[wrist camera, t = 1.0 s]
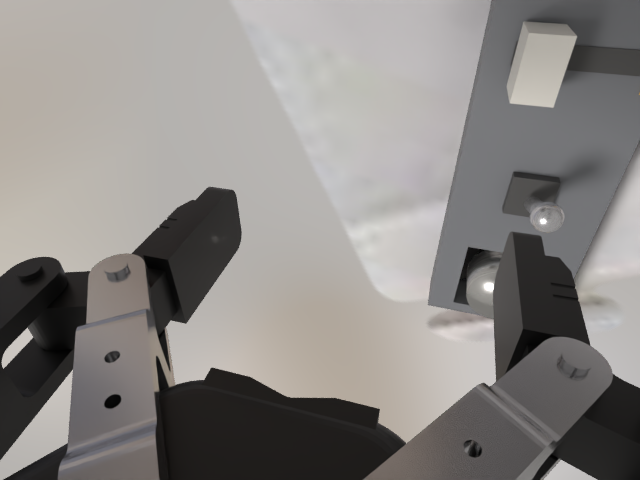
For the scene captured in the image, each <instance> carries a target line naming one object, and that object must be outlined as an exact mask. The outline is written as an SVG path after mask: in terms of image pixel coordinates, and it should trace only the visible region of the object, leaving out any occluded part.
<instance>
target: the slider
mask: <svg viewBox="0 0 640 480" xmlns="http://www.w3.org/2000/svg"><path fill="white" fill-rule="evenodd" d="M576 39H577V35H576V34H575V33H574V32H573V31H572V30H571V28H570V27H569V26H568V25H567V24H557V23H541V22H525V21H524V22H523V25H522V29H521V33H520V37H519V41H518V44H517V48H516V52H515V56H514V60H513V63H512V67H511V71H510V75H509V79H508V82H507V92H508V97H509V102H510V103H511V104H521V105H531V106H541V107H551V108H553V107H554V104H555V101H556V98H557V95H558V92H559V89H560V86H561V83H562V80H563V77H564V74H565V71H566V68H567V65H568V62H569V60H570V57H571V54H572V51H573V48H574V45H575V42H576Z"/></svg>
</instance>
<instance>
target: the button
mask: <svg viewBox="0 0 640 480" xmlns="http://www.w3.org/2000/svg"><path fill="white" fill-rule="evenodd" d="M502 254H503V253H502V252H496V251H490V250H486V251H483V252H481V253H479V254H477V255H476V256H475V257H474V258H473V259H472V260H471V261H470V263H469V264H468V267H467V292H466V297H467V301H468V304H469V305H470V307H471V308H472V309H473V310H474V311H475V312H477V313H478V314H480V315H482V316H484V317H487V318H490V319H494V312H493V288H494V282H495V277H496V273H497V270H498V267H499V264H500V260H501V257H502Z"/></svg>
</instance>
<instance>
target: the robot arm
mask: <svg viewBox="0 0 640 480" xmlns="http://www.w3.org/2000/svg"><path fill="white" fill-rule="evenodd" d="M240 242H241V225H240V218H239V211H238V204H237V197H236V194H235V192H234V191H233V190H229V189H222V188H215V187H208V188H207V189H206V190H205V191H204V192H203V193H202V194H201V195H200V196H199V197H198V198H197V199H196V200H191V201H189V202H188V203H185V204H183V205H182V206H180V207H178V208H177V209H176V210H175V211H174V212H173V213H172V214H171V215H170V216H169V217H168V219H167V220H165V221H164V222H163V223H162V224H161V225H160V227H159V228H157V229H156V230H155V231H154V232H153V233H152V234H151V235H150V236H149V237H148V238H147V239H146V240H145V241H144V242H143V243H142V244H141V245H140V246H139V247H138V248H137V249H136V250H135V251H134V252H133V253H132V254H119V255H114V256H111V257H108V258H106V259H104V260H102V261H100V262H99V263H97V264H96V265H95V266H94V267H93V268H92V270H91V271H87V272H68V273H65V272H64V270H63V268H62V266H61V264H60V263H59V261H58V260H56V259H54V258H50V257H38V258H33V259H29V260H26V261H24V262H21V263H19V264H17V265H15V266H14V267H12V268H11V269H10V270H8V271H7V272H6V273H5V274H3V275H2V276H1V277H0V460H1V459H2V457H3V456H4V455H5V454H6V452H7V451H8V450H9V448H10V447H11V446H12V445H13V443H14V442H15V441H16V439H17V438H18V437H19V436H20V435H21V433H22V432H23V431H24V430H25V428H26V427H27V426H28V425H29V423H30V422H31V421H32V420H33V418H34V417H35V416H36V415H37V413H38V412H39V411H40V410H41V408H42V407H43V406H44V404H45V403H46V402H47V401H48V400H49V398H50V397H51V396H52V395H53V393H54V392H55V391H56V390H57V388H58V387H59V386H60V385H61V383H62V382H63V381H64V380H65V378H66V377H67V376H68V374H69V373H70V372H71V371H72V369H73V378H72V393H71V407H70V421H69V435H68V443H67V444H66V445H64V446H62V447H60V448H59V449H57V450H55V451H53V452H51V453H50V454H48V455H46V456H44V457H43V458H41V459H39V460H37V461H36V462H34V463H32V464H31V465H28V466H27V467H25V468H23V469H21V470H20V471H18V472H16V473H14V474H13V475H11V476H9V477H7V478H6V479H4V480H543V479H544V478H545V477H546V476H547V474H549V472H550V471H551V470H552V469H553V468H554V467H555V466H556V464H558V462H559V461H560V460H563V461H565V462H567V463H568V464H570V465H572V466H574V467H576V468H578V469H580V470H581V471H583V472H585V473H587V474H588V475H590V476H592V477H594V478H596V479H598V480H640V388H638V387H636V386H634V385H632V384H629V383H627V382H625V381H623V380H622V379H620V378H618V377H616V376H615V375H614V374H613V373H612V369H611V367H610V365H609V363H608V362H607V360H606V359H605V358H604V357H603V356H602V355H601V354H600V353H599V352H598V351H597V350H595V349H594V348H593V347H591V346H590V342H589V338H588V334H587V330H586V326H585V322H584V319H583V315H582V311H581V307H580V303H579V302H578V295H577V291H576V289H575V283H574V280H573V276H572V272H571V271H570V269H569V268H568V267H567V266H566V265H565V264H564V262H563V261H562V260H561V259H560V258H559V257H553V256H546V255H545V252H544V246H543V241H542V237H541V236H540V235H533V234H526V233H519V232H512V231H511V232H510V233H509V235H508V238H507V241H506V244H505V247H504V251H503V254H502V257H501V260H500V264H499V267H498V270H497V273H496V277H495V282H494V288H493V312H494V338H495V363H496V382H495V383H494V384H493V385H492V386H490V387H489V386H488V385H486V384H485V383H481V384H479V385H477V386H476V387H474V388H473V389H472V390H471V391H470V392H469V393H467V394H466V395H465V396H463V397H462V398H461V399H460V400H459V401H458V402H456V403H455V404H454V405H453V406H451V407H450V408H449V409H448V410H447V411H445V412H444V413H443V414H442V415H441V416H439V417H438V418H437V419H436V420H435V421H433V422H432V423H431V424H430V425H428V426H427V427H426V428H425V429H424V430H422V431H421V432H420V433H419V434H418V435H416V436H415V437H414V438H413V439H412V440H411V441H409V442H408V443H407V444H406V442H404V441H403V440H402V439H401V438H400V437H399V436H397V435H396V434H395V433H394V432H392V431H391V430H389V429H388V428H386V427H384V426H382V425H381V424H379V423H378V418H379V411H380V409H377V408H373V407H369V406H365V405H361V404H357V403H353V402H349V401H345V400H341V399H337V398H290V397H286V396H284V395H282V394H280V393H278V392H276V391H275V390H273V389H271V388H269V387H267V386H265V385H263V384H262V383H260V382H258V381H256V380H255V379H253V378H251V377H248V376H244V375H240V374H236V373H232V372H227V371H223V370H219V369H215V368H211V369H210V371H209V373H208V374H207V376H206V378H205V380H198V381H190V382H185V383H181V384H177V385H175V380H174V374H173V366H172V360H171V353H170V346H169V339H168V333H167V330H166V326H167V325H168V323H169V322H170V320H172V321H177V322H182V323H187V322H188V320H189V319H190V317H191V316H192V314H193V313H194V312H195V310H196V309H197V307H198V306H199V304H200V303H201V301H202V300H203V299H204V297H205V295H206V294H207V293H208V292H209V290H210V289H211V287H212V286H213V284H214V283H215V282H216V280H217V278H218V277H219V276H220V274H221V273H222V271H223V270H224V268H225V267H226V266H227V264H228V263H229V261H230V260H231V259H232V257H233V256H234V254H235V253H236V251H237V250H238V248H239V245H240ZM27 327H28V329H29V331H30V332H31V334H32V336H33V339H32V340H31V341H30V342H29V343H28V344H27V345H26V346H25V347H24V348H23V349H22V350H21V351H20V352H19V353H18V354H17V356H15V358H14V359H13V360H12V361H11V362H10V363H9V364H8V365H7V366H6V367H5V368H4V369H3V368H2V363H1V362H2V357H3V354H4V352H5V350H6V349H7V348H8V346H10V345H11V344H12V342H13V341H14V340H15V339H16V338H17V337H18V336H19V335H20V334H21V333H22V332H23V331H24V330H25V329H26V328H27Z"/></svg>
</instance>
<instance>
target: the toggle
mask: <svg viewBox="0 0 640 480" xmlns="http://www.w3.org/2000/svg"><path fill="white" fill-rule="evenodd" d="M524 206H525V208H526V209H527V210H528V212H529V213H530V222H531V225H532V226H533V227H534V228H535V229H536V230H538V231H540V232H544V233H550V232H553V231H556V230H557V229H559V228H560V227H561V226H562V224H563V222H564V212H563V210H562V208H561V207H560V206H559V205H557V204H556V203H553V202H542V201H541V200H540V199H539V198H537V197H535V196H532V197H529V198H527V199H526V200H525V203H524Z"/></svg>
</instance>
